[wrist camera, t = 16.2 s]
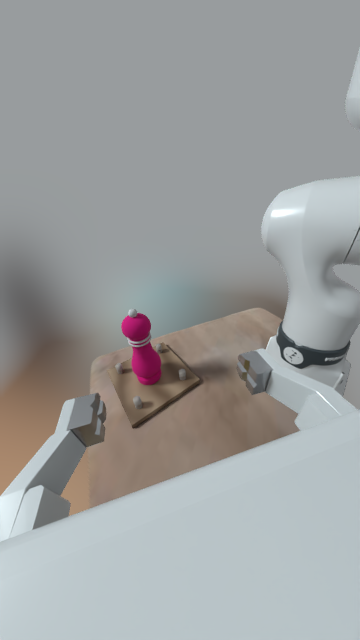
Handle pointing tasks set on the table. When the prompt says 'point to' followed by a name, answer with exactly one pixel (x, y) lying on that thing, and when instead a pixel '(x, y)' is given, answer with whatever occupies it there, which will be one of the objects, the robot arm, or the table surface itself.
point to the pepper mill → (142, 348)
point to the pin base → (153, 397)
